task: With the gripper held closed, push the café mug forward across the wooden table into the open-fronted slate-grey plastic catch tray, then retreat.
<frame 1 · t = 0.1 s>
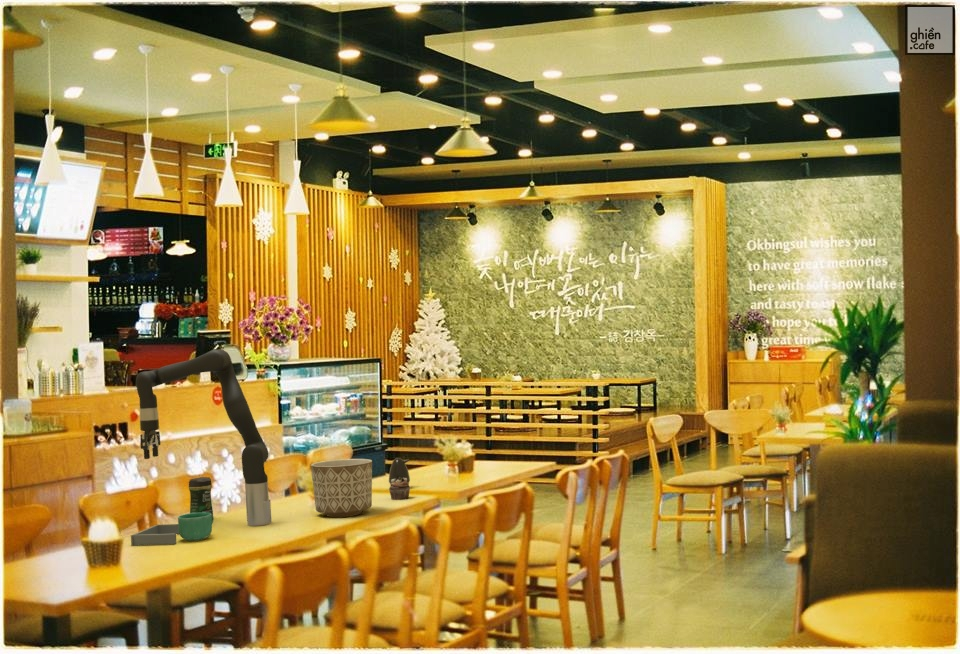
hand: (151, 457, 481), 29 cm above the table, fingers open, 8 cm apart
coffee jar: (202, 521, 493), on the table
planter: (344, 514, 490), on the table
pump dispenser: (400, 489, 559), on the table
mug: (199, 539, 448), on the table
catch tray: (166, 539, 450), on the table
cupcake: (400, 499, 526), on the table
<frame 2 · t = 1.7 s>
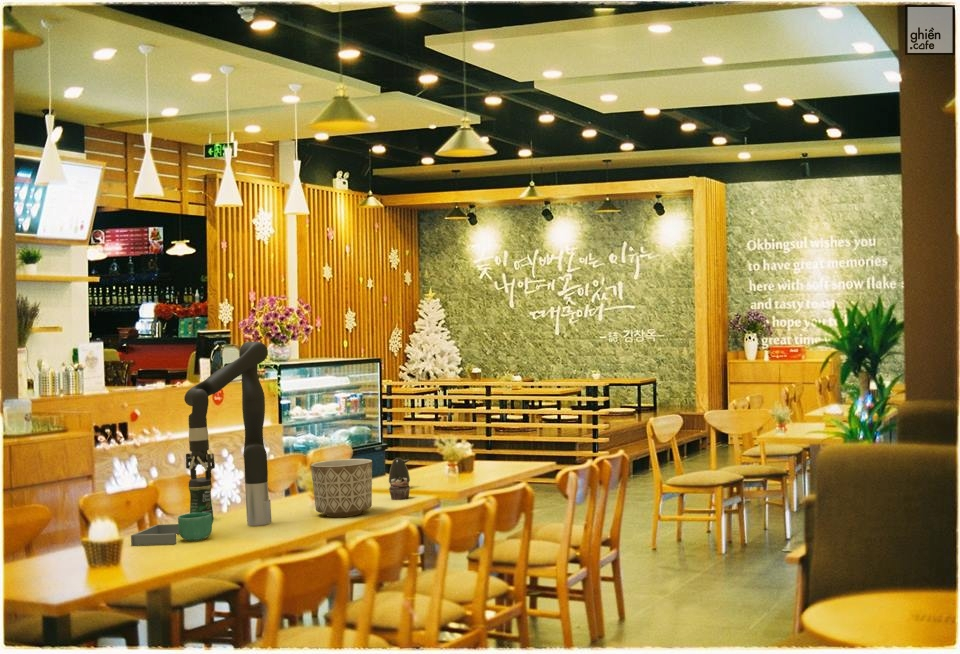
hand: (201, 479, 458), 22 cm above the table, fingers open, 8 cm apart
nothing on the table moved.
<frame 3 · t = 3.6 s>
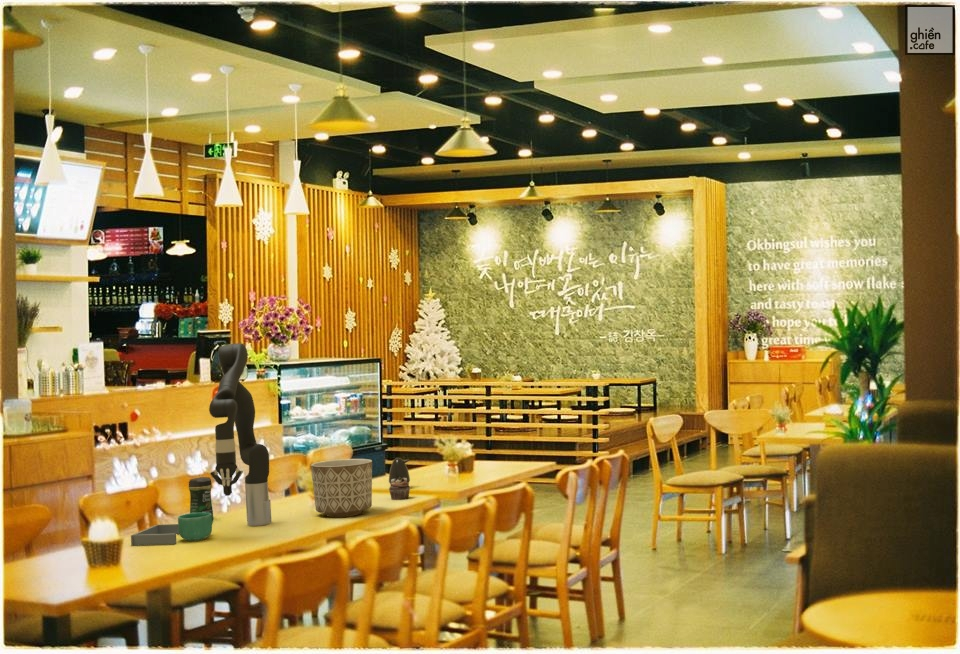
hand: (227, 495, 446), 16 cm above the table, fingers closed
nothing on the table moved.
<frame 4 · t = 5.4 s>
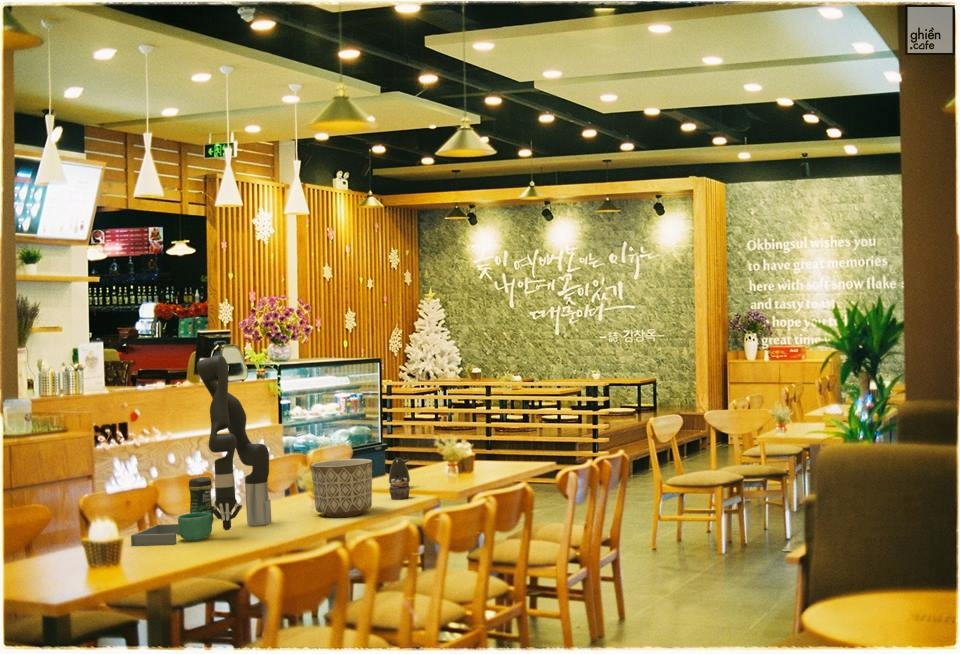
hand: (227, 529, 446), 3 cm above the table, fingers closed
nothing on the table moved.
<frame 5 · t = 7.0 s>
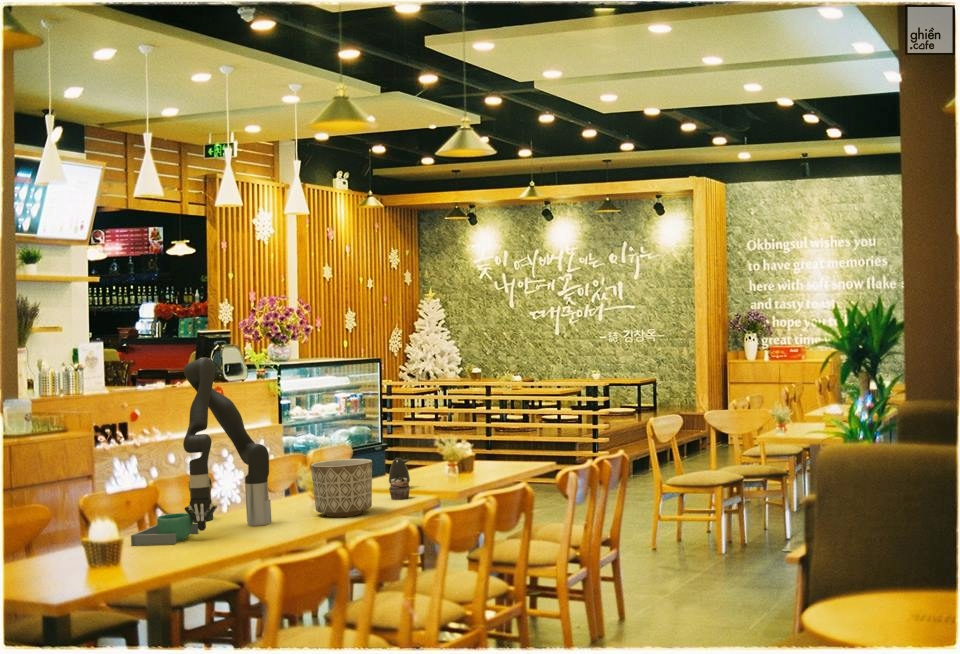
hand: (201, 530, 447), 3 cm above the table, fingers closed
mug: (178, 539, 448), on the table, touching hand
everything else where it was.
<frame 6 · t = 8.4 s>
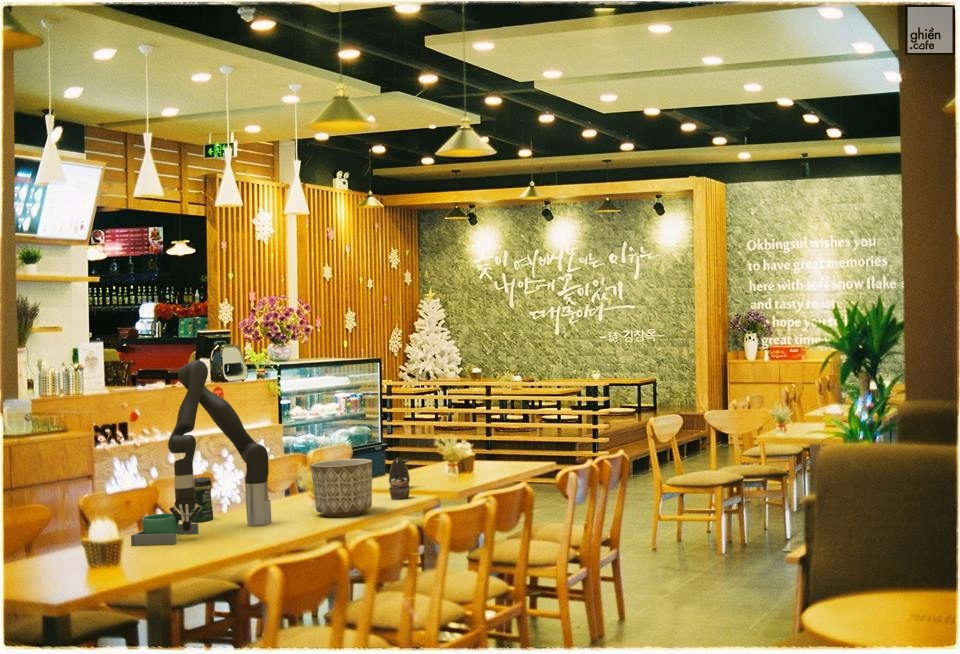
hand: (187, 530, 448), 3 cm above the table, fingers closed
mug: (164, 540, 449), on the table, touching catch tray, hand
everything else where it was.
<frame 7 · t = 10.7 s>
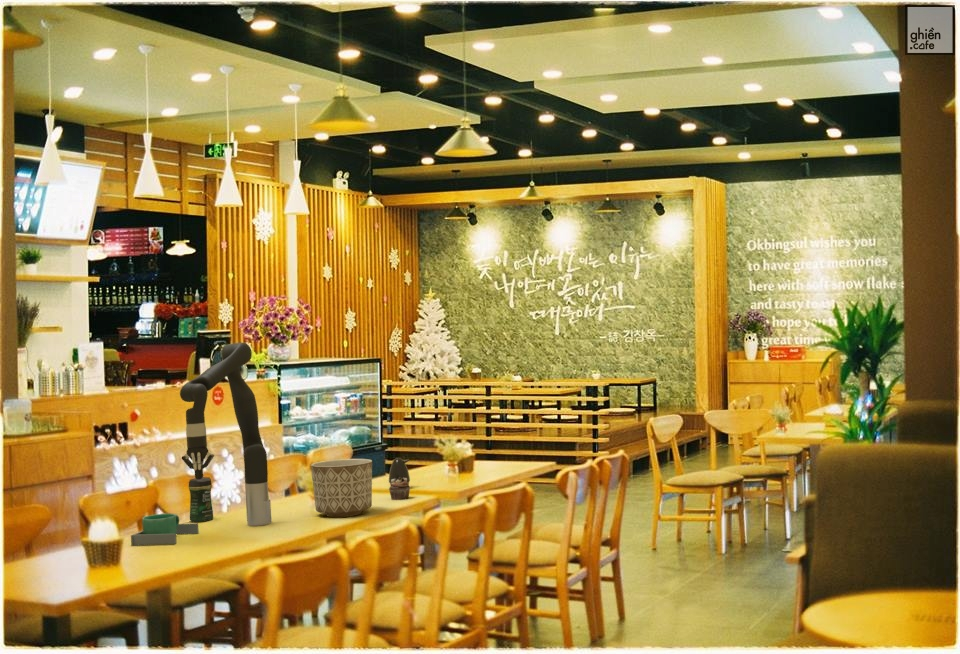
hand: (199, 479, 448), 23 cm above the table, fingers closed
mug: (164, 540, 450), on the table
everything else where it was.
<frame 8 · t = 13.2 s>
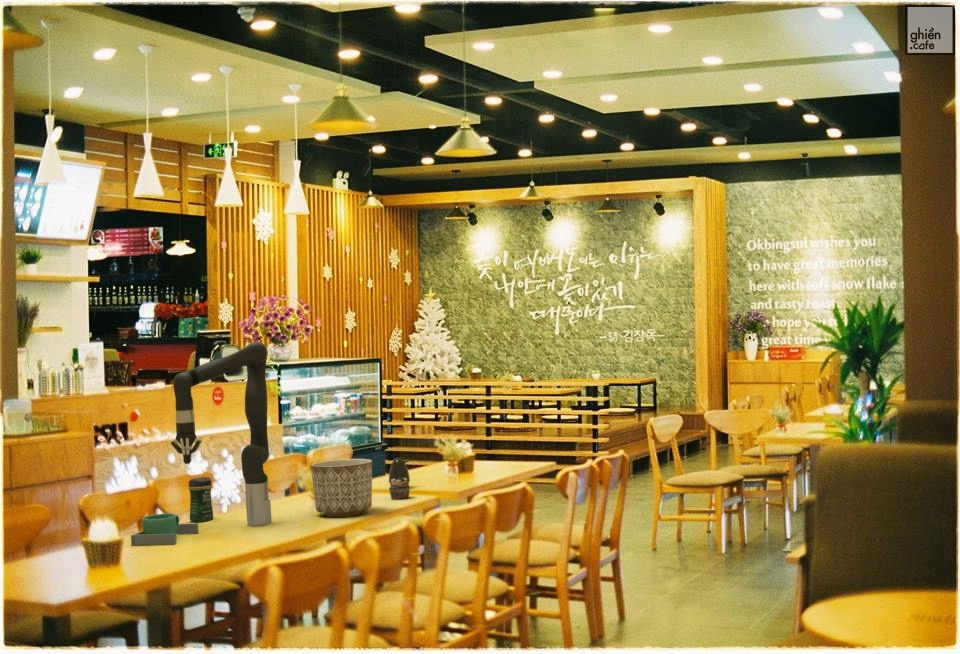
hand: (187, 463, 470), 27 cm above the table, fingers closed
nothing on the table moved.
at the end: mug inside the target area (1.3 cm from its centre), on the table; mug tilted 0° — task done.
